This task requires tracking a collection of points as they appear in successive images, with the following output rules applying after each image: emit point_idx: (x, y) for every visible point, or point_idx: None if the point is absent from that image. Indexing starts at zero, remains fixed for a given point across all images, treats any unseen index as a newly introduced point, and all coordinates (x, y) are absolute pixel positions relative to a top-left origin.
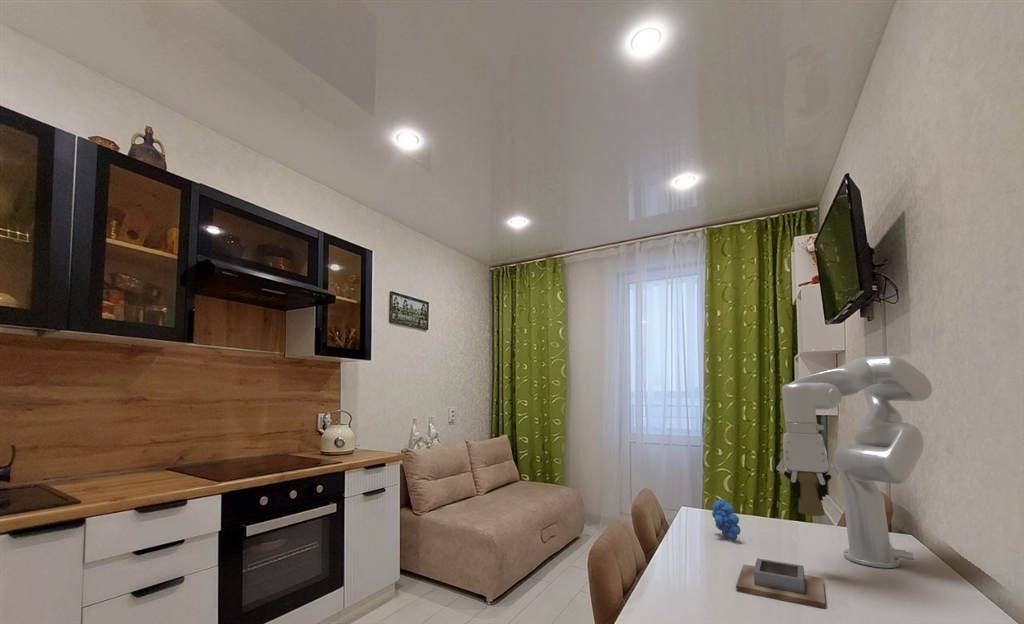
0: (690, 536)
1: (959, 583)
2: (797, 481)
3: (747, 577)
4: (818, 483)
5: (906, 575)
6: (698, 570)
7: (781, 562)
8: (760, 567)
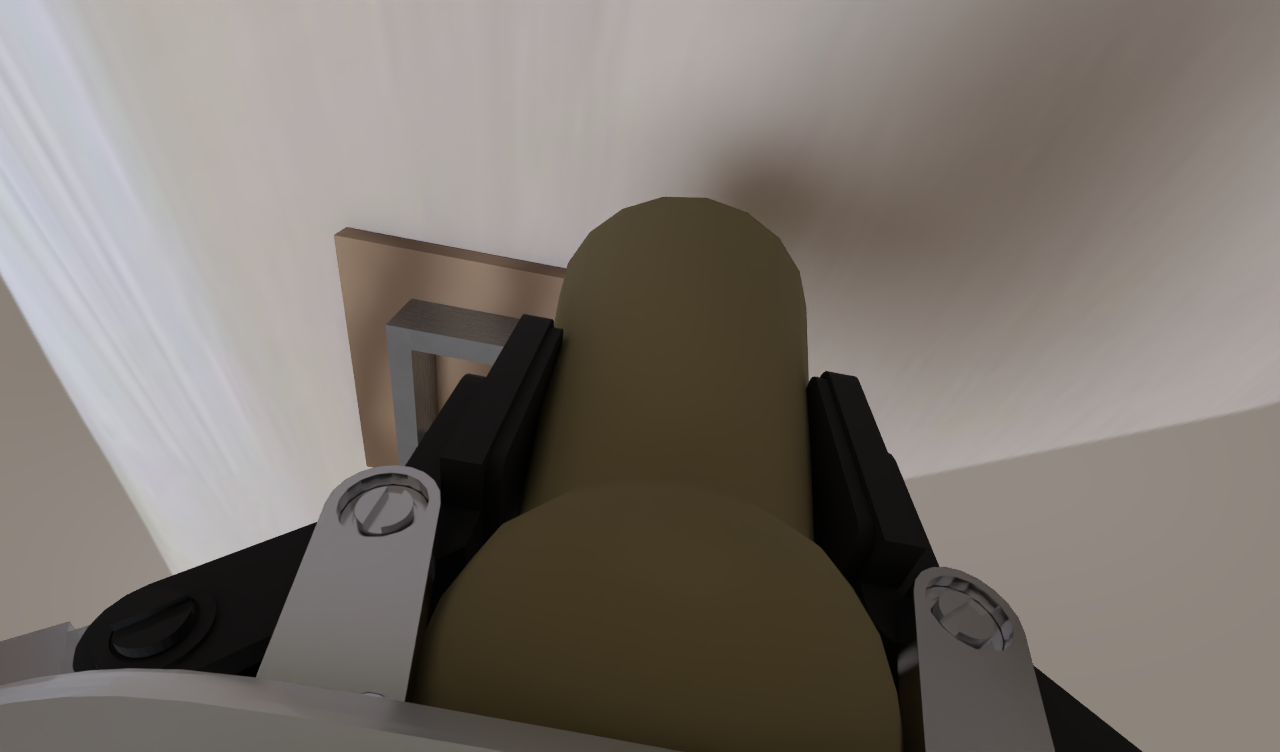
0: None
1: None
2: (479, 530)
3: (386, 387)
4: (862, 561)
5: None
6: (188, 309)
7: (497, 349)
8: (418, 419)
